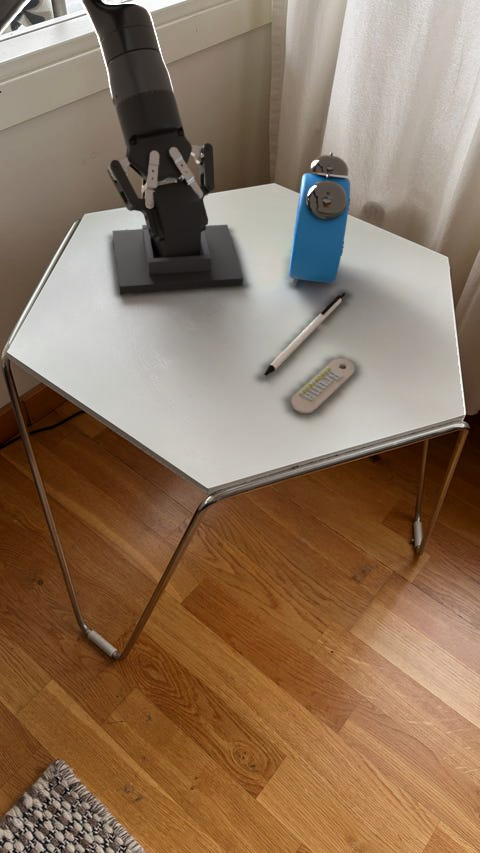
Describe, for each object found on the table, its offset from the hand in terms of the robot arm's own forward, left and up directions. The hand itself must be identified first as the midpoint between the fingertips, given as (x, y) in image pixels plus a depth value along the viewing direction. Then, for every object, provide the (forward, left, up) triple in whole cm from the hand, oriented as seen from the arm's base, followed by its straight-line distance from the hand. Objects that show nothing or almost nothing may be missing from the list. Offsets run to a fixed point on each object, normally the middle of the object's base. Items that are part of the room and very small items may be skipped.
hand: (181, 234), depth 90 cm
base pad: (0, +2, -5) cm, 6 cm away
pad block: (0, +2, -4) cm, 5 cm away
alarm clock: (+18, -2, -6) cm, 18 cm away
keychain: (+14, -23, -5) cm, 27 cm away
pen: (+14, -14, -6) cm, 21 cm away
